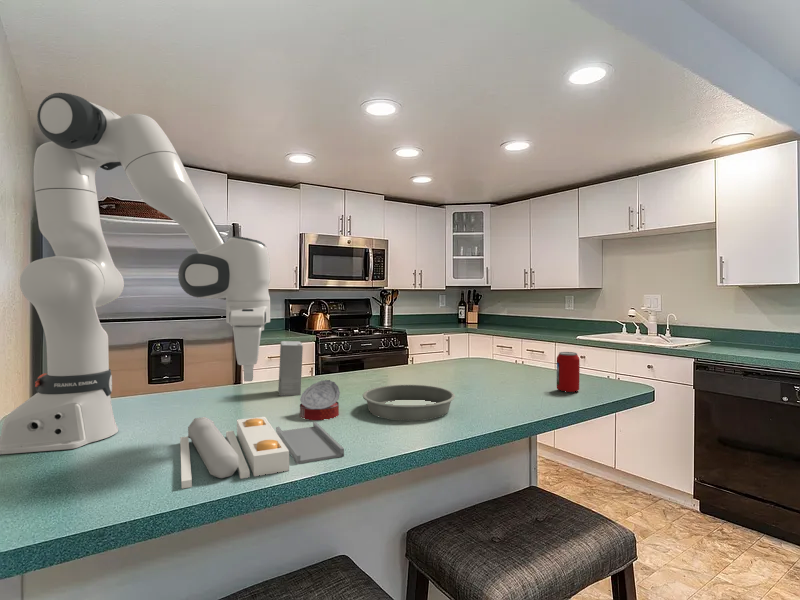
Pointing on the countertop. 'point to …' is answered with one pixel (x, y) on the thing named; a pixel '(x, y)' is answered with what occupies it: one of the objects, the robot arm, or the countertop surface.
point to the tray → (310, 444)
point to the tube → (213, 448)
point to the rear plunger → (253, 422)
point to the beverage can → (568, 371)
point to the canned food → (320, 401)
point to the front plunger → (266, 445)
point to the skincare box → (290, 368)
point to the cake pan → (408, 392)
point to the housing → (248, 439)
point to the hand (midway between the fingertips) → (248, 380)
